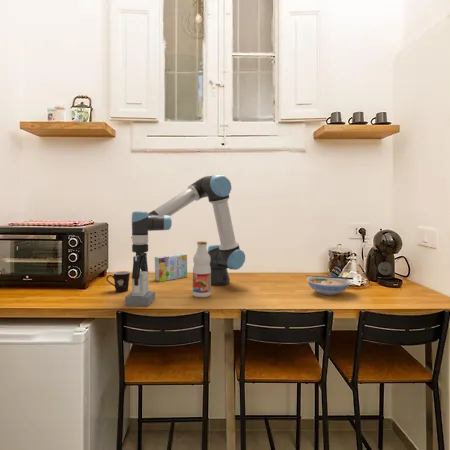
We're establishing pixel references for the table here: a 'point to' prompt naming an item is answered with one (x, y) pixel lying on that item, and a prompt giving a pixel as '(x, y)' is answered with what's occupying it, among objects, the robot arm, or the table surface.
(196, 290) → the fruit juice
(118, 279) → the coffee mug
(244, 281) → the table surface
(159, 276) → the snack box
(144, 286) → the small box
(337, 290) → the ramen bowl
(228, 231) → the robot arm
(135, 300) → the stand
